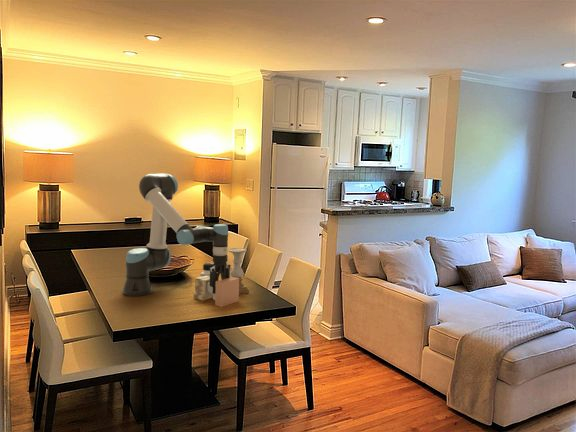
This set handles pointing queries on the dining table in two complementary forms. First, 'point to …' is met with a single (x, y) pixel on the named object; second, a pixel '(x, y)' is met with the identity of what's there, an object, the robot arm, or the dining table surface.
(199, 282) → the white blocky piece
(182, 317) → the dining table surface
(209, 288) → the slip bar
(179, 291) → the dining table surface
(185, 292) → the dining table surface
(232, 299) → the socket block
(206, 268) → the container
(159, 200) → the robot arm
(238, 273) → the candle holder
